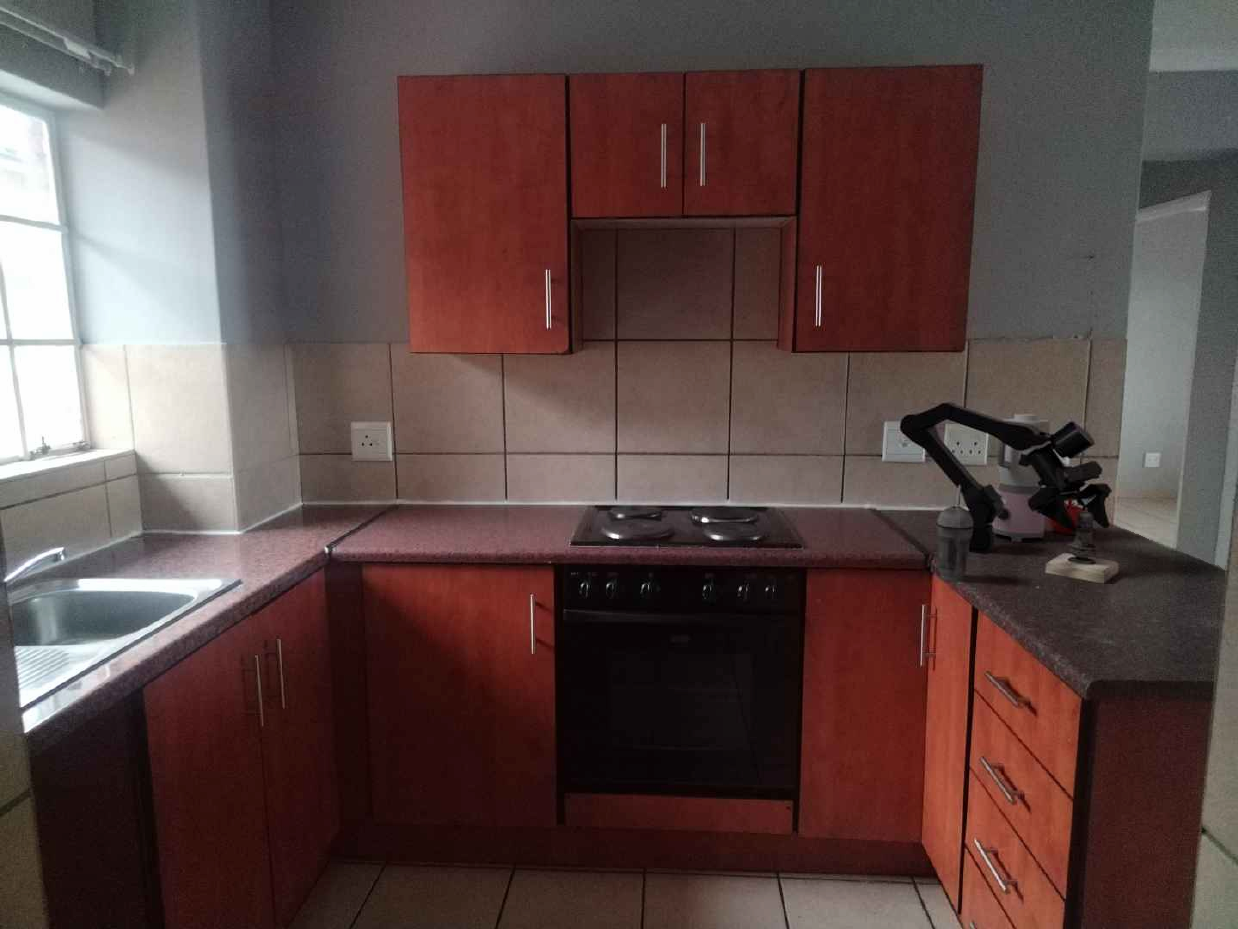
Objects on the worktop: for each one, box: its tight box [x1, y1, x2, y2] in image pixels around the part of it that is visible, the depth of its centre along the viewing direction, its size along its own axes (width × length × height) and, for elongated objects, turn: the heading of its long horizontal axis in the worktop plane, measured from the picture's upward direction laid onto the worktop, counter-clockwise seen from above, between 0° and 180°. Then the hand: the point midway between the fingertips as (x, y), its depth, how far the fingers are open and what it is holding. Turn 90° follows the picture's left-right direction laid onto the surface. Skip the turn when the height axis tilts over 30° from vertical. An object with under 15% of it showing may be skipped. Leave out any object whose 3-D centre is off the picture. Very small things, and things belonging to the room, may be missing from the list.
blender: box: [991, 413, 1051, 543], centre depth 191 cm, size 16×12×32 cm
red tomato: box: [1047, 500, 1083, 536], centre depth 199 cm, size 10×10×9 cm
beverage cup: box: [936, 485, 974, 582], centre depth 158 cm, size 7×7×20 cm
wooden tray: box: [1044, 552, 1119, 584], centre depth 162 cm, size 11×11×2 cm
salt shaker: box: [1067, 508, 1100, 565], centre depth 161 cm, size 6×6×12 cm
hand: (1091, 529), depth 159 cm, fingers open, 9 cm apart
